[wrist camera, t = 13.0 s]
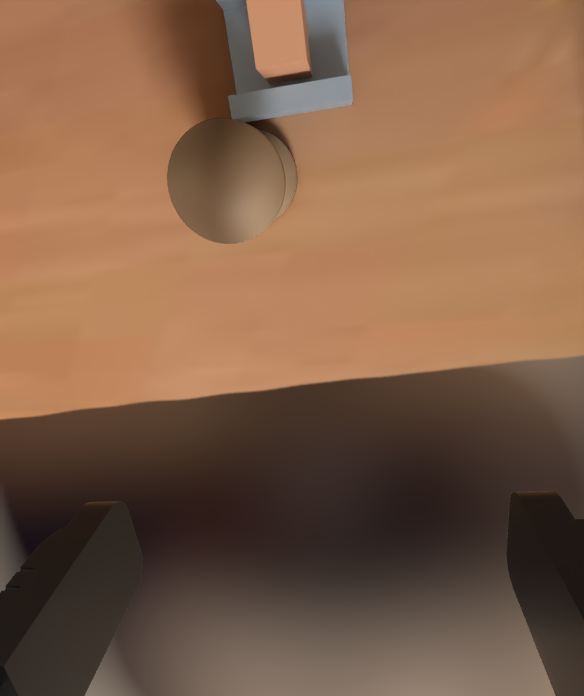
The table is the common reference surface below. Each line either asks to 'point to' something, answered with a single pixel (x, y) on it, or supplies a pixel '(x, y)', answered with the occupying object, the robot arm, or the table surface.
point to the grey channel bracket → (299, 95)
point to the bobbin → (230, 180)
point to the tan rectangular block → (280, 39)
